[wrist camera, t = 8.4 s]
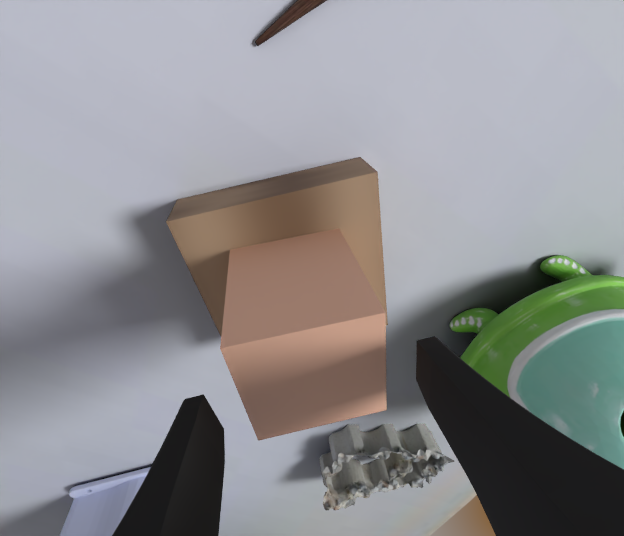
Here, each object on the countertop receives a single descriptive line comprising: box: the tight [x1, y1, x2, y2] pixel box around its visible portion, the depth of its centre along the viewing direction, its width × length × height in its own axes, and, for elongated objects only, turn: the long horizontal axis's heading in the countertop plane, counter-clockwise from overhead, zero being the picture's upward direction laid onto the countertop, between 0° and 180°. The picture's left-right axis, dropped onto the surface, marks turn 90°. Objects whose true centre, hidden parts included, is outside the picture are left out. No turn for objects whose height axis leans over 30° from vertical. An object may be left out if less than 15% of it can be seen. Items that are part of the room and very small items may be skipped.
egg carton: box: [319, 424, 454, 510], centre depth 29 cm, size 11×8×4 cm
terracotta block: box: [220, 228, 387, 440], centre depth 13 cm, size 5×5×6 cm
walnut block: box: [166, 157, 388, 336], centre depth 17 cm, size 9×9×3 cm
